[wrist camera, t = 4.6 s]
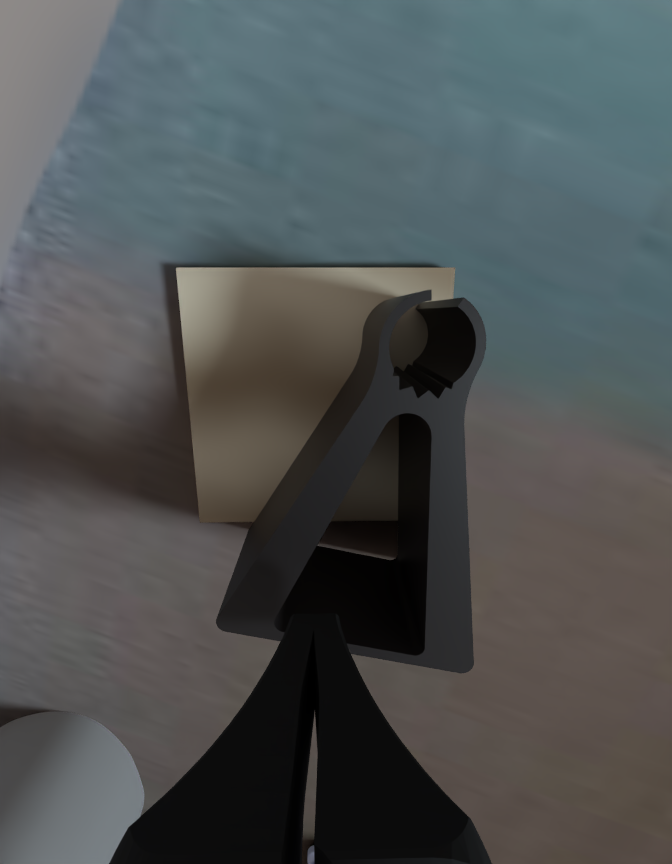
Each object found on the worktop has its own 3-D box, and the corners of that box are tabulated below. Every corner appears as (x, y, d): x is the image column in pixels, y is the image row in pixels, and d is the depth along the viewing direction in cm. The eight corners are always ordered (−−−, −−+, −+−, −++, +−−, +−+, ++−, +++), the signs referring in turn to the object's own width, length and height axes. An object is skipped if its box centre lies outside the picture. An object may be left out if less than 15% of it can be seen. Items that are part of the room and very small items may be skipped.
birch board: (433, 512, 21) (438, 520, 20) (204, 514, 21) (199, 522, 20) (449, 269, 18) (454, 267, 17) (182, 269, 18) (176, 267, 17)
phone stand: (213, 629, 14) (283, 252, 11) (246, 538, 20) (299, 273, 17) (470, 676, 15) (602, 332, 12) (431, 575, 21) (513, 325, 18)
